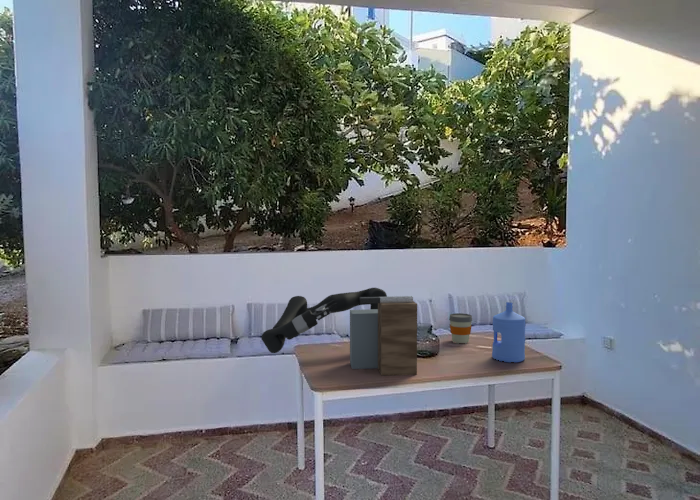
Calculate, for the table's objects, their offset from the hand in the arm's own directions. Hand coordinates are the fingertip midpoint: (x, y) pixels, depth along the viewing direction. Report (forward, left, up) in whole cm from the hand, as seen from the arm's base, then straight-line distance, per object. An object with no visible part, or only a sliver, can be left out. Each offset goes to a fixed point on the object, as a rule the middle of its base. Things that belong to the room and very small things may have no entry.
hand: (336, 303), depth 234 cm
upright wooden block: (-1, +28, -32) cm, 42 cm away
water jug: (-16, +87, -32) cm, 94 cm away
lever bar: (-1, +23, 0) cm, 23 cm away
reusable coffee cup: (-52, +74, -32) cm, 96 cm away
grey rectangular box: (-12, +18, -32) cm, 38 cm away
